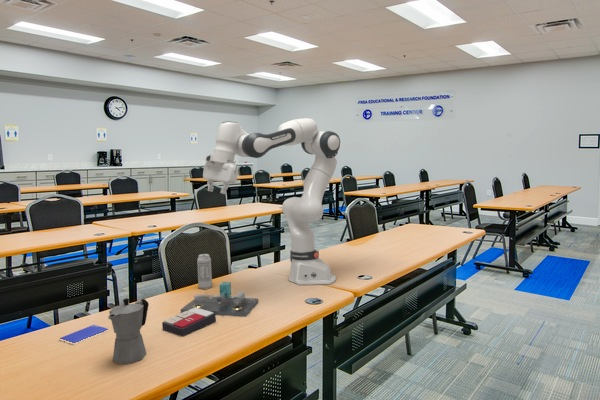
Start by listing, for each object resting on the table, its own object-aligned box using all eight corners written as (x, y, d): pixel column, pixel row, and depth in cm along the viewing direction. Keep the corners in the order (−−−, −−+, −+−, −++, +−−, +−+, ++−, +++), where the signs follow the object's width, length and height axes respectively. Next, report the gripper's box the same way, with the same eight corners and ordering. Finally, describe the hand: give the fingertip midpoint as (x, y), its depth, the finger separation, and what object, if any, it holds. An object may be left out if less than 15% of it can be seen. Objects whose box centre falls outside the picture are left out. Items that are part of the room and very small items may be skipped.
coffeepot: (125, 370, 120) (121, 307, 118) (100, 364, 124) (95, 304, 122) (162, 347, 135) (159, 291, 133) (138, 343, 138) (134, 288, 136)
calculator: (161, 320, 148) (195, 305, 160) (162, 332, 149) (196, 316, 161) (181, 327, 142) (215, 311, 154) (183, 339, 142) (216, 322, 154)
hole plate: (258, 302, 174) (258, 287, 174) (246, 316, 159) (245, 301, 158) (198, 299, 179) (197, 285, 179) (180, 313, 164) (179, 298, 163)
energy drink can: (213, 285, 198) (212, 253, 197) (209, 289, 192) (208, 256, 191) (201, 285, 199) (199, 253, 197) (196, 289, 193) (195, 256, 191)
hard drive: (93, 324, 152) (58, 337, 141) (108, 328, 148) (74, 342, 137) (93, 328, 152) (59, 342, 142) (108, 332, 148) (74, 347, 138)
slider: (231, 298, 173) (230, 282, 172) (223, 306, 164) (222, 289, 164) (223, 298, 174) (223, 281, 173) (215, 306, 165) (214, 288, 164)
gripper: (244, 162, 172) (237, 196, 172) (215, 160, 187) (209, 191, 186) (231, 159, 168) (224, 194, 167) (203, 156, 182) (196, 188, 182)
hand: (216, 192), depth 177 cm, fingers open, 8 cm apart
